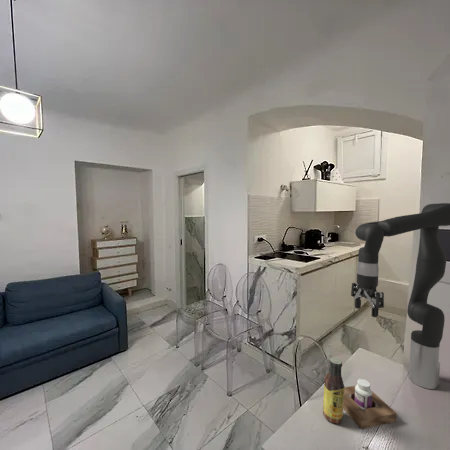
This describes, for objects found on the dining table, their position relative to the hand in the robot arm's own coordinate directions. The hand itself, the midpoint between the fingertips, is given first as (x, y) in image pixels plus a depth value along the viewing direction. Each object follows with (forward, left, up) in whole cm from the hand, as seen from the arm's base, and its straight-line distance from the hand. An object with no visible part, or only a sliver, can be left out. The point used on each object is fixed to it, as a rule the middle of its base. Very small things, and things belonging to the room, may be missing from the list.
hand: (365, 312), depth 97 cm
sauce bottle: (+23, +12, -30) cm, 40 cm away
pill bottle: (+10, +11, -30) cm, 34 cm away
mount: (+10, +11, -30) cm, 34 cm away
